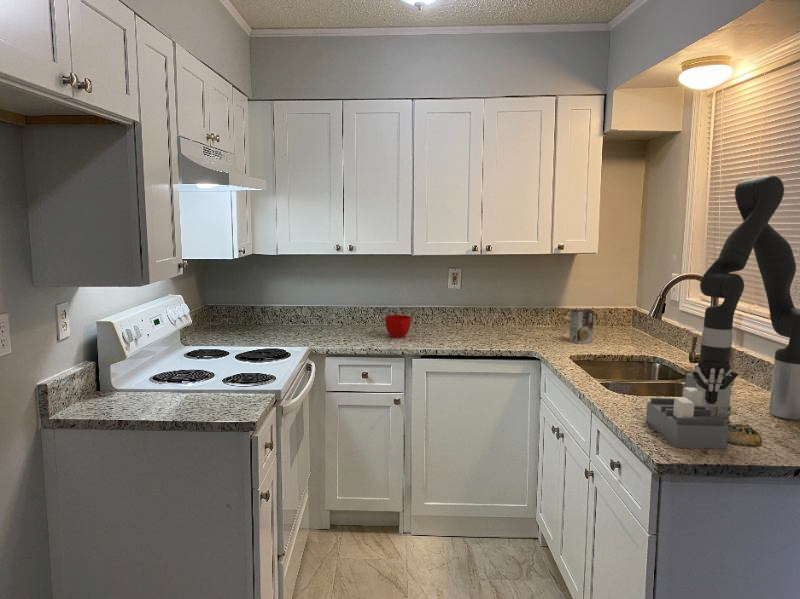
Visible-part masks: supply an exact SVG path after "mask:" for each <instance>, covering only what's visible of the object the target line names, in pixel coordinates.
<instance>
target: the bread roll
mask: <svg viewBox="0 0 800 599" xmlns="http://www.w3.org/2000/svg"><path fill="white" fill-rule="evenodd" d="M726 425H727V426H728V427H729V429H728V439H727V443H730V442H731V444H734V443H735V445H738V444H739V446H755V447H756V446H760V445H761V444H762V443H763V440H762V436H761V434H760V433H759V431H757V430H756V429H754V428H753V427H752V426H751V425H749V424H742V423H736V424H734V423H733V424H728V423H727V424H726Z"/></svg>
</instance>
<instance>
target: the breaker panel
mask: <svg viewBox="0 0 800 599" xmlns="http://www.w3.org/2000/svg"><path fill="white" fill-rule="evenodd" d="M674 398H675V397H650V401H647V402H646V412H645V413H646V415H645V422H646V423H647V424H648V425H649V426H651V427H652V428H653V429H654V430H655V431H657V432H658V433H659V434H660V435H661V436H662V437H663V438H664V439H665V440H667V441H668V442H669V443H670V444H671V445H673V446H674V448H678V449H679V448H680V449H681V448H683V449H711V450H712V449H716V450H719V449H720V450H721V449H722V450H727V445H728V442H727V439H728V429H729V427H728V426H727V424H726V421H725V420H724V419H718V418H714V417H713V416H711V412H712V411H711V410H706V407H704V406H694V415H693V418H682V417H677V418H676V417H675V416H674V415H673V409H674Z"/></svg>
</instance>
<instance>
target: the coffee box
mask: <svg viewBox="0 0 800 599" xmlns="http://www.w3.org/2000/svg"><path fill="white" fill-rule="evenodd" d="M594 311H595V310H592V309H589V308H578V309H577V308H575V309H570V322H569V324H570V326H569V328H570V329H569V342H571V343H574V344H576V345H578V344H579V343H580V344H591V343H593V333H594V332H593V330H594V313H595V312H594Z"/></svg>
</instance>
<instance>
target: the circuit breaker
mask: <svg viewBox="0 0 800 599" xmlns="http://www.w3.org/2000/svg"><path fill="white" fill-rule="evenodd" d="M697 367H698V364H697V365H696V364H695V365H694V369H695V368H697ZM700 373H701V371H700ZM725 375H726V374H725ZM700 377H701V378H702V380H703V381H704V376H703V374H702V373H701V375H700ZM724 377H725V376H724ZM724 377H723V378H724ZM723 378H722V379H723ZM704 383H705V381H704ZM734 385H735V379H734V380H733V381H732V382H731V383H730V384H729V385H728V386H727V388H726V389H724V390H723V389H721V390H719V391H718V397H717V402H715V404H709V403H707V402H706V400H705V389H703V388H702V387H700V386H699V385H698V384H697V382H696V381H695V380H694V378H693V377H692V375H691V374H690V373H689V372H688V373H686V374H685V383H684V387H690V388H696V389H697V390H699V391H701V392H702V393H703V396H702V406H704V407H706V410H711V411H712V412H711V416H713V417H714V418H718V419H724V420H725V422H730V421H731V419H730V417H731V415H732V405H731V398H732V397H731V395H732V387H734Z"/></svg>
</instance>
